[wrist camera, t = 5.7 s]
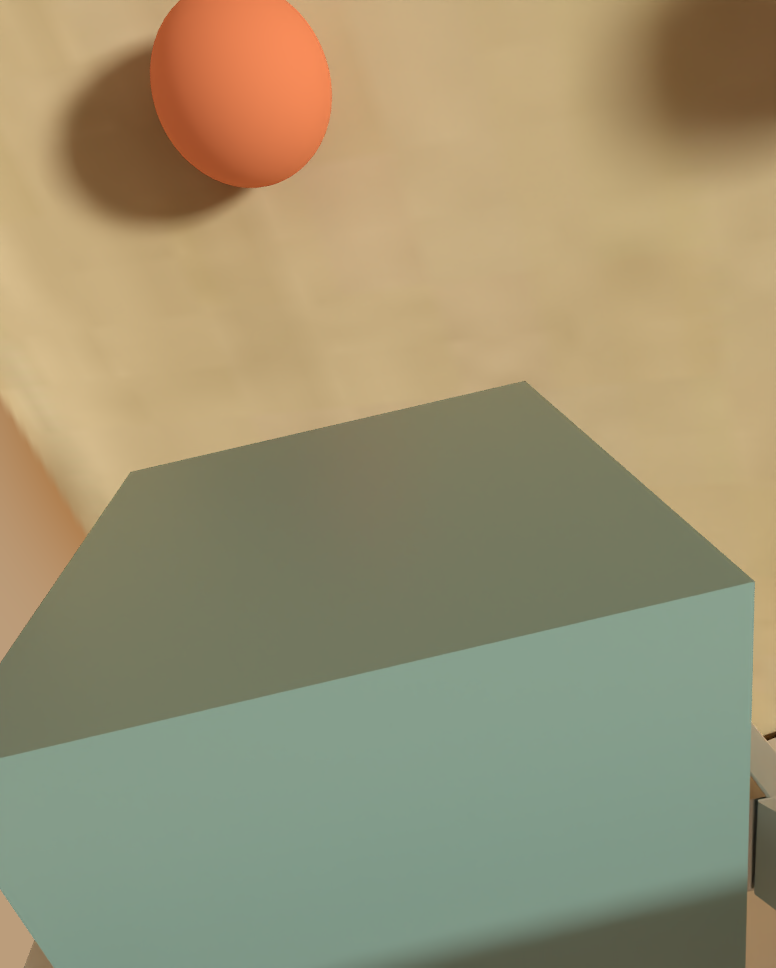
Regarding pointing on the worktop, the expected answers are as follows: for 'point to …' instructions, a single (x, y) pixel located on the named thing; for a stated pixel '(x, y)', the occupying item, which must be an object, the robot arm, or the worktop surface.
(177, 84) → the ball
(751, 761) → the robot arm
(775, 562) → the worktop surface
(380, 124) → the worktop surface
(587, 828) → the teal eraser-like brick
